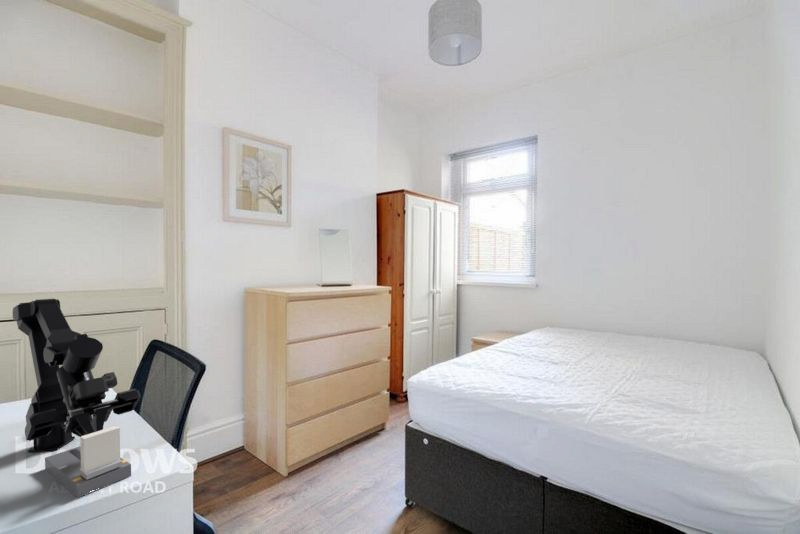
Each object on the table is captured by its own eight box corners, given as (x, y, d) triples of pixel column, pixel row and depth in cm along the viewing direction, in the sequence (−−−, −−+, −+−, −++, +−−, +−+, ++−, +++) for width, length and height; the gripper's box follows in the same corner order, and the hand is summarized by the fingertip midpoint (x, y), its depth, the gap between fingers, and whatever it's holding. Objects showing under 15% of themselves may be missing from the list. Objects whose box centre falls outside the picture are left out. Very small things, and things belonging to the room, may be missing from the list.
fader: (79, 473, 75) (78, 435, 75) (114, 460, 80) (113, 424, 80) (86, 479, 73) (85, 440, 73) (122, 465, 78) (121, 428, 78)
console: (45, 468, 83) (44, 457, 83) (95, 451, 90) (94, 440, 90) (77, 498, 72) (77, 484, 72) (131, 475, 79) (131, 463, 79)
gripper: (27, 374, 72) (46, 444, 66) (136, 354, 88) (159, 410, 82) (17, 406, 77) (34, 475, 71) (123, 382, 92) (144, 437, 86)
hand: (98, 446), depth 77 cm, fingers closed, pressing on fader
